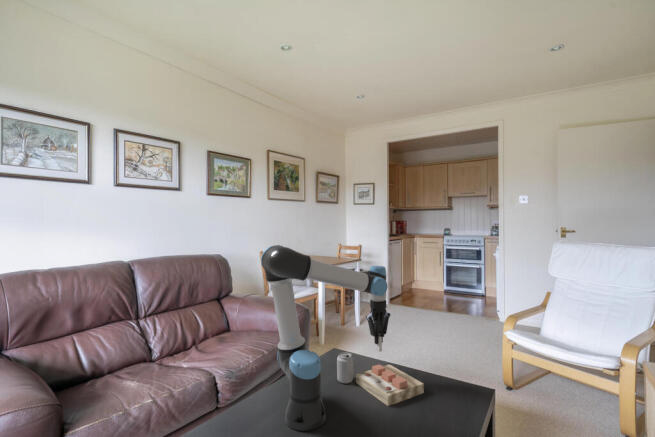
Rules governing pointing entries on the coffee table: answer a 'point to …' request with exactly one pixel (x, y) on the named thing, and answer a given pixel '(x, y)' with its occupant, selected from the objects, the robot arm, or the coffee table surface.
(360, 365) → the coffee table surface
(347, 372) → the can
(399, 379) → the button
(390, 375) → the button
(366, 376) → the board
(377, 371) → the button
